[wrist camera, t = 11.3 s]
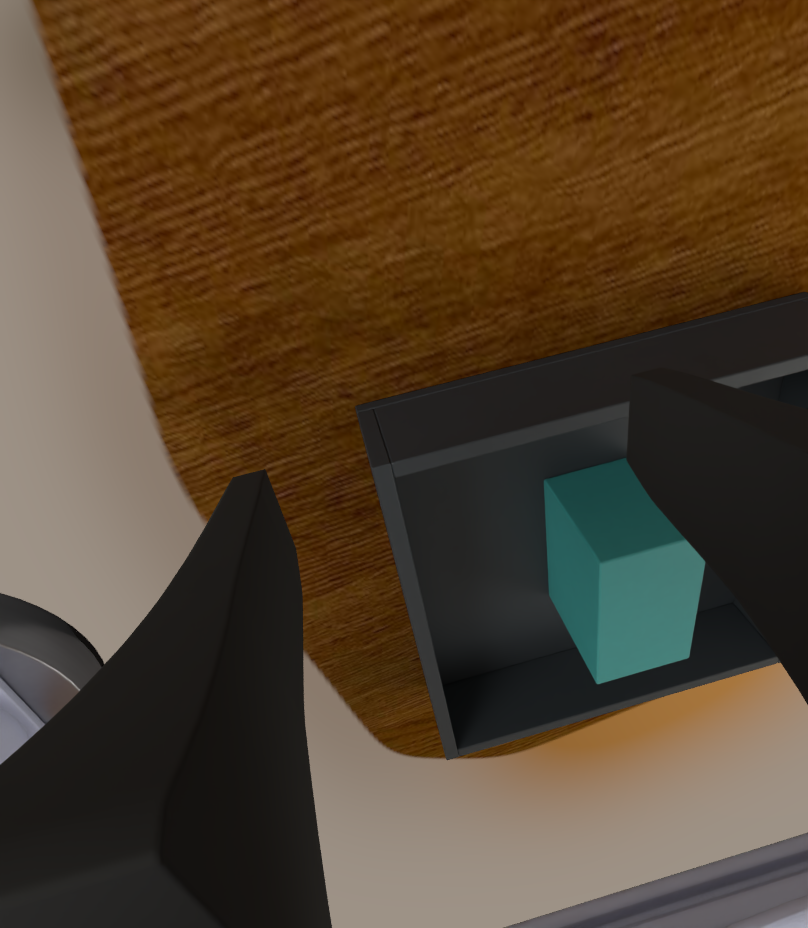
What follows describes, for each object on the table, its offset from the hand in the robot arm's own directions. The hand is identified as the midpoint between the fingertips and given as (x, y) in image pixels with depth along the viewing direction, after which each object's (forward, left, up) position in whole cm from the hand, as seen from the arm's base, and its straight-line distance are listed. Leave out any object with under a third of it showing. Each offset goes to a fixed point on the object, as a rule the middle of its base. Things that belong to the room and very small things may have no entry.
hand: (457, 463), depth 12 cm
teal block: (+7, -12, -9) cm, 16 cm away
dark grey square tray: (+7, -12, -9) cm, 17 cm away
